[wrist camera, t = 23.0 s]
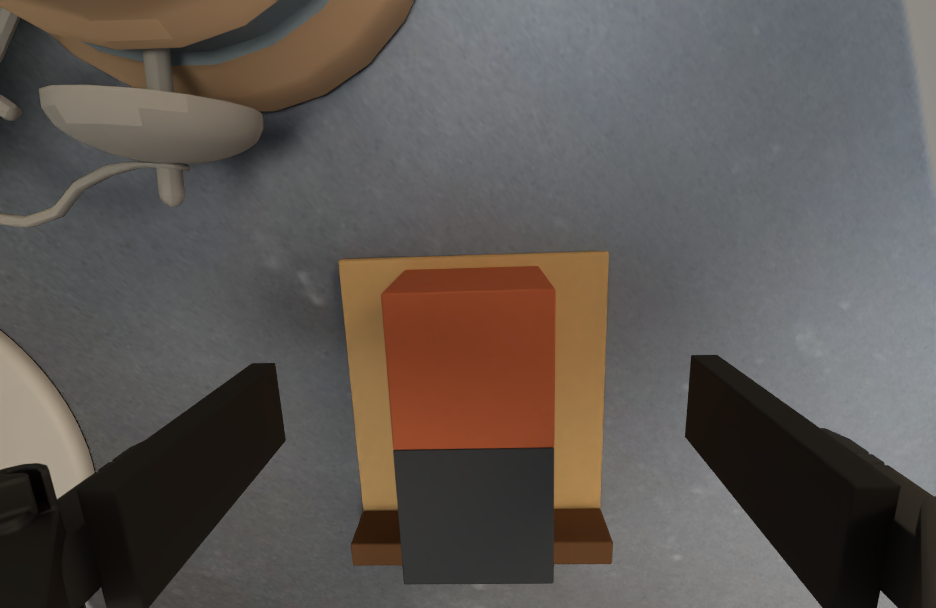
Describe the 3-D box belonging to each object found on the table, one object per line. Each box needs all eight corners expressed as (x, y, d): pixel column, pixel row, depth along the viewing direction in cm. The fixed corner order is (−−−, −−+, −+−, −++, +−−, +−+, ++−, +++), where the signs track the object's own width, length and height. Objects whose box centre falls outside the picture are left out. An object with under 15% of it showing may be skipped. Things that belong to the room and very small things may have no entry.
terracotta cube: (538, 265, 21) (556, 288, 16) (538, 391, 22) (554, 448, 17) (403, 269, 21) (380, 293, 16) (412, 394, 22) (392, 450, 18)
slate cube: (538, 391, 22) (554, 448, 17) (539, 502, 24) (553, 584, 19) (412, 394, 22) (392, 450, 18) (419, 504, 24) (403, 585, 19)
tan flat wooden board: (605, 250, 21) (625, 260, 18) (597, 520, 24) (612, 564, 21) (341, 258, 22) (319, 269, 19) (367, 522, 25) (352, 566, 22)
